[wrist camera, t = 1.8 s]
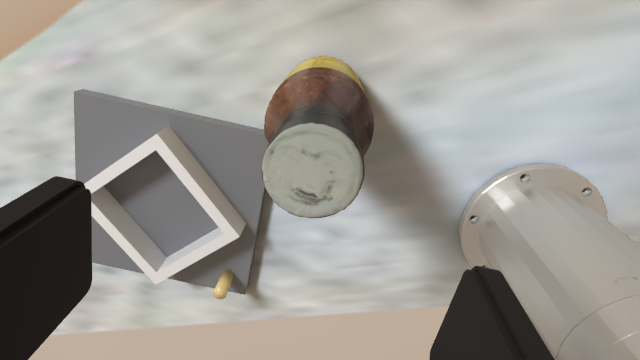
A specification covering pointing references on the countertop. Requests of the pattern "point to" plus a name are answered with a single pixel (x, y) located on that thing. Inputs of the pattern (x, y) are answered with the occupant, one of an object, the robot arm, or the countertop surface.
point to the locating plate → (170, 190)
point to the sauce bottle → (317, 139)
